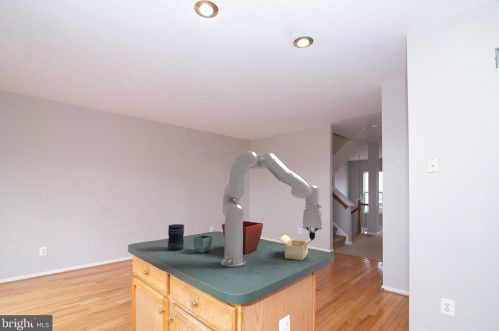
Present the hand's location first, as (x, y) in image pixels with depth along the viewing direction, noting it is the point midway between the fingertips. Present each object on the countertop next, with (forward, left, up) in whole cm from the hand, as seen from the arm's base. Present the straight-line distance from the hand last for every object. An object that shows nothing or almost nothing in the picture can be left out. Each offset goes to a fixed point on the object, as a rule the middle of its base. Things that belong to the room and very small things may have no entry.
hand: (312, 239), depth 139 cm
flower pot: (-15, +64, -10) cm, 67 cm away
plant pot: (-4, +42, -10) cm, 43 cm away
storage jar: (-17, +83, -10) cm, 85 cm away
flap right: (0, +2, -1) cm, 2 cm away
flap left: (0, +16, -1) cm, 16 cm away
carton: (0, +9, -10) cm, 13 cm away
